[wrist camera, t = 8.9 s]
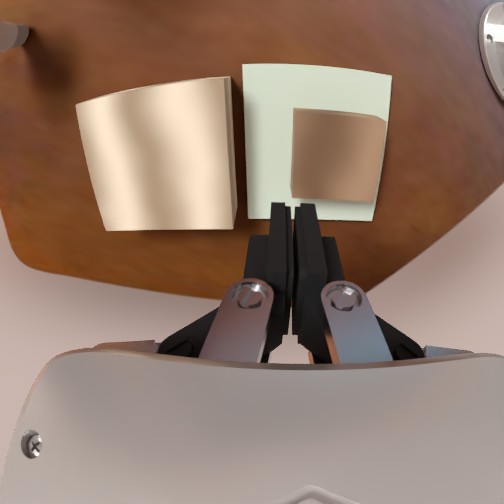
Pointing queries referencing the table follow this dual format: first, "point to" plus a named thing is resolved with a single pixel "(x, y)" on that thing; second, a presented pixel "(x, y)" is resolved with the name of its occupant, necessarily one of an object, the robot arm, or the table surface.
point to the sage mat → (281, 127)
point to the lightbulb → (12, 35)
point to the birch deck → (163, 155)
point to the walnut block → (336, 154)
